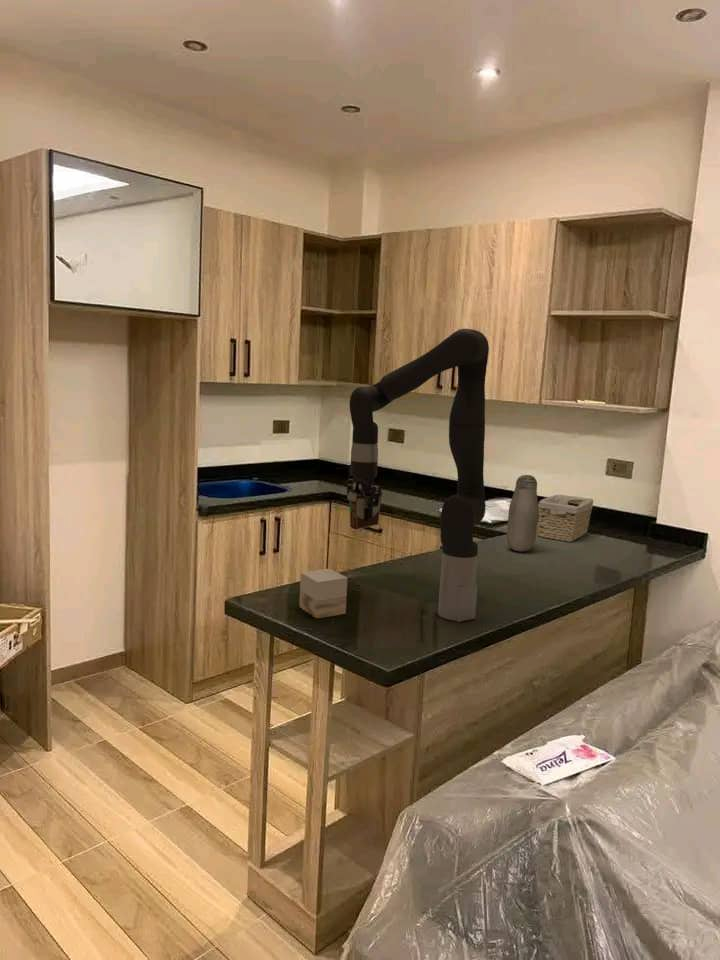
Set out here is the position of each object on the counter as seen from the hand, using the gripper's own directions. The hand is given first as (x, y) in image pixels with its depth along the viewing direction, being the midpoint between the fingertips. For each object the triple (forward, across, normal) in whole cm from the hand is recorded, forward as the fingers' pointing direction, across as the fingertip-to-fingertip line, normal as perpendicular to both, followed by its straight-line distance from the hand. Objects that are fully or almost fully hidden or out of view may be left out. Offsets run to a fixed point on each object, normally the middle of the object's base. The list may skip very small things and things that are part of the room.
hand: (361, 518), depth 206 cm
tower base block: (+22, -7, +16) cm, 29 cm away
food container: (+2, +1, 0) cm, 2 cm away
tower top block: (+17, -7, +16) cm, 25 cm away
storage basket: (+23, +25, -118) cm, 122 cm away
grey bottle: (+23, +15, -82) cm, 86 cm away
